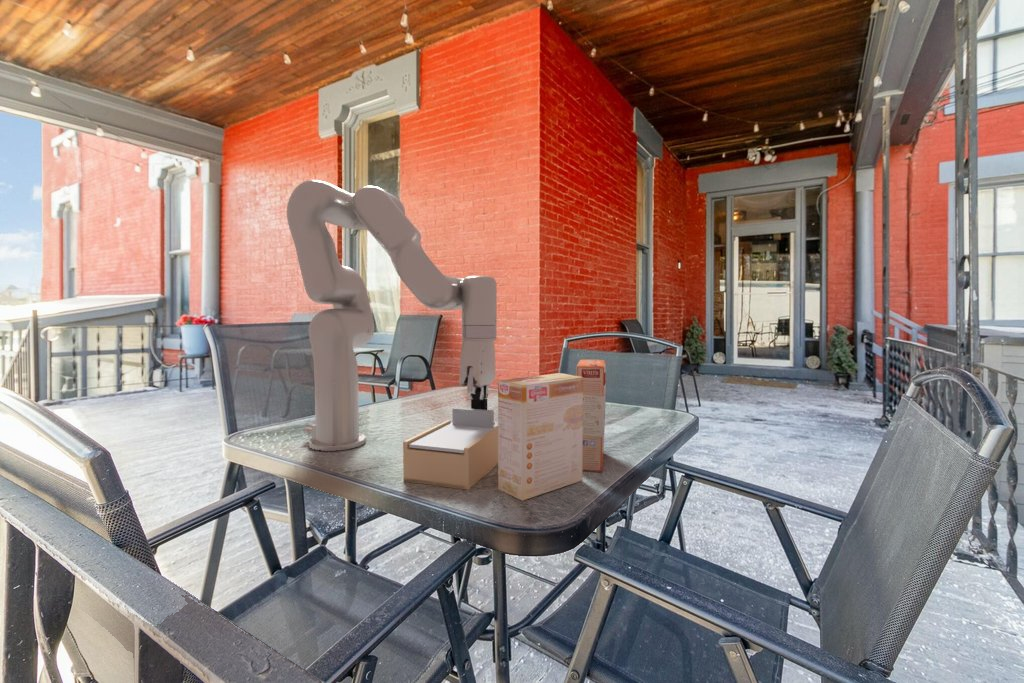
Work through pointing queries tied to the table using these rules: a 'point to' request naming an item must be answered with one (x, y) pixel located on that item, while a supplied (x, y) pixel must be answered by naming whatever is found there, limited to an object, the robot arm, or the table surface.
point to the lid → (458, 431)
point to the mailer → (450, 461)
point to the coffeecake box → (539, 434)
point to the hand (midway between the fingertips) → (479, 416)
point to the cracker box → (593, 412)
